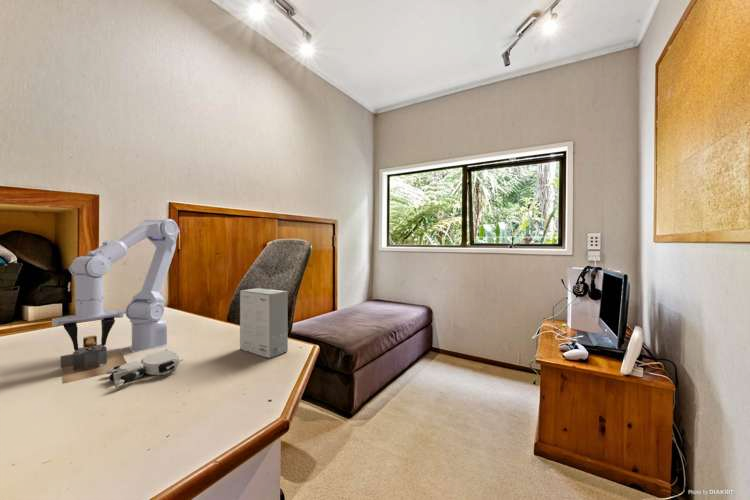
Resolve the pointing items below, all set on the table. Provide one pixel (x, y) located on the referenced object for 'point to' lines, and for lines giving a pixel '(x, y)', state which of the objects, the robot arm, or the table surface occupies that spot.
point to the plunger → (89, 341)
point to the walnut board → (112, 362)
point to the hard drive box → (264, 321)
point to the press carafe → (86, 358)
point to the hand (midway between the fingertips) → (90, 347)
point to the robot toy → (145, 367)
